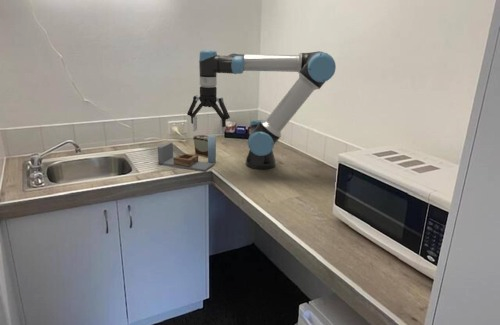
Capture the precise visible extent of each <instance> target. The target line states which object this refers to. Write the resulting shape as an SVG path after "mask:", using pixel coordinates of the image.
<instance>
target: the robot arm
mask: <svg viewBox="0 0 500 325" xmlns="http://www.w3.org/2000/svg"><path fill="white" fill-rule="evenodd" d="M198 63H199V86H200V87H199V95H197V94H196V95H193V96H192V102H191V104H190V107H189V108H188V111H187V113H186V115H187V116H190V117H191V118H190V121H191V122H190V123H191V124H192V132H196V131H197V130H198V116H197V114H198V113H199V111H201V109H202V108H203V107H204V108H207V107H208V108H212V109H213V110H214V111H215V113H217V115H218V116H219V118H220V120H219V134H220V135H223V134H224V133H225V127H226V124H227V123H226V122H227V120H229V119H230V118H231V117H230V114H229V112H228V110H227V108H226V105H225V103H224V98H223V97H217V93H218V92H217V77H218V76H217V74H234V75H237V74H238V75H242V74H243V73H244V71H246V72H284V73H286V72H289V73H295V72H296V73H298V75H299V77H298V78H297V79H296V81H295V82H294V84H293V85H291V87H290V88H289V90H288V91H287V93H286V94H285V96H283V98H282V99H281V100H280V101H279V103H278V104H277V106H276V107H275V108H274V109H273V110H272V112H271V113H270V114H269V116H268V117H267V118H266V119H254V120H250V125H249V127H250V128H249V136H248V139H247V145H248V154H247V156H246V159H245V165H246V166H247V167H249V168H251V169H254V170H268V169H272V168H274V167H276V159H275V155H274V151H273V149H274V148H275V145H276V143H277V142H278V140H280V139H281V137H282V134H281V132H282V130H284V128H285V127H286V126H287V124H288V123H289V122H290V121H291V119H292V118H293V117H294V115H296V113H297V112H298V111H299V109H301V107H302V106H303V104H304V103H305V102H306V101H307V100H308V99H309V97H310V96H311V95H312V94H313V92H314V91H316V90H320V89H322V87H323V85H324V84H325V83H326V82H328V81H329V80H330V79H332V78H333V76H334V75H335V72H336V69H337V68H336V61H335V59H334V58H333V56H332V55H330V54H329V53H328V52H325V51H324V52H323V51H318V50H317V51H313V52H311V51H310V52H300V53H298V54H249V53H248V54H244V53H243V54H242V53H238V54H237V53H231V54H229V55H219V54H217V51H216V50H212V49H211V50H210V49H208V50H207V49H202V50H200V52H199V60H198ZM198 101H200V103H199V104H198V106H197V103H198ZM217 102H218V104H217ZM218 105H219V106H220V107H219V106H218ZM196 106H197V107H196ZM194 109H195V110H194Z"/></svg>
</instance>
